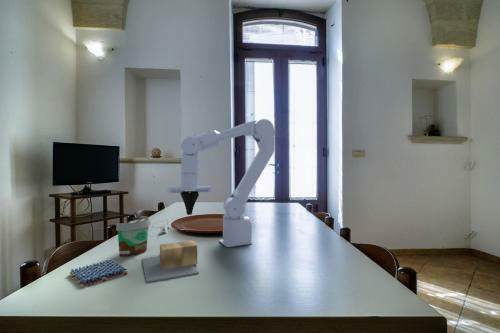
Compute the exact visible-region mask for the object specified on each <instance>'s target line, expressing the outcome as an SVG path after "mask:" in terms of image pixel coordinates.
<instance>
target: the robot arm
mask: <svg viewBox="0 0 500 333" xmlns="http://www.w3.org/2000/svg"><path fill="white" fill-rule="evenodd" d="M240 136H245V137H252V138H253V139H254V141H255V142H256V145H257V148H258V151H257V153H256V155H255V157H254V158H253V160H252V161H251V163H250V164H249V167H248V168H247V170H246V172H245V173H244V175H243V177H242V178H241V180H240V181H239V183H238V185H237V187H236V188H235V189H234V190H233V192H232V193H231V195H229V196H228V197H227V198H225V199H224V201H223V209H224V211H225V213H224V214H223V215H222V217H223V218H222V239H221V238H220V239H219V240H218V241H219V242H220V243H221V244H222V245H223V246H224V247H226V248H231V247H233V248H234V247H238V246H245V245H252V244H253V241H252V229H253V228H252V221H251V218H250V217H249V216H245V215H244V213H245V206H246V204H247V202H248V199H249V195H250V194H251V192H252V190H253V189H254V187H255V185H256V184H257V181H258V180H259V179H260V177H261V176H262V174H263V172H264V170H265V168H266V167H267V166H268V163H269V161H270V159H272V156H273V155H274V153H275V150H276V149H275V148H276V147H275V146H276V144H275V143H276V142H275V140H276V139H275V138H276V137H275V136H276V129H275V127H274V124H273V123H272V121H270V119H268V118H261V119H259V120H252V121H248V122H245V123H241V124H239V125H236V126H233V127H231V128H227V129H225V130H222V131H217V130H215V129H207V130H206V132H203V133H201V134H197V133H196V134H193V136H187V137H185V138H184V139H183V140H182V142H181V144H180V148H181V151H182V152H181V161H180V162H181V166H180V186H167V187H166V193H167V194H180V196H181V198H182V200H183V203H184V206H185V207H184V208H185V212H186V215H188V216H189V215H190V216H193V211H194V208H195V204H196V202H197V200H198V198H199V196H200V194H199V193H212V186H209V185H203V186H202V185H199V175H200V173H199V172H200V171H199V170H200V168H199V166H200V160H199V151H200V152H205V151H207V150H208V151H209V150H211V149H215V148H217V147H220V146H221V143H222V142H224V141H227V140H230V139H234V138H238V137H240Z"/></svg>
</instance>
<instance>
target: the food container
mask: <svg viewBox="0 0 500 333" xmlns="http://www.w3.org/2000/svg"><path fill="white" fill-rule="evenodd" d="M151 225H152V223H151V219H150V217H149V216H146V215H145V216H144V215H140V217H139V219H136V220H135V219H134V220H129V221H127V222H124V223H123V222H122V223H121V222H118V223H117V225H116V226H115V227H116V230H115V231H117V242H118V254H119V257H122V258H123V257H135V256H139V255H141V254H144V253H146V252H147V249H148V248H147V247H148V237H149V236H148V235H149V231H148V230H149V227H150V226H151Z"/></svg>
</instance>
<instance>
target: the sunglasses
mask: <svg viewBox="0 0 500 333" xmlns="http://www.w3.org/2000/svg"><path fill="white" fill-rule="evenodd" d="M161 222H162V221H157V222H154V223H153V224H152V226H151V227H152V229H148V232H149V231H153V230H154V229H155V230H156V229H160V228H163V227H164V232H165V234H168V232H169V230H168V229H171V228H172V226H171V225H172V224H171V218H170V217H167V219H165V220H164V219H163V226H160V227H156V228H153V227H154V225H155V224H156V223H158V224H159V223H161ZM170 227H171V228H170Z"/></svg>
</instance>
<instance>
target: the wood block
mask: <svg viewBox="0 0 500 333" xmlns="http://www.w3.org/2000/svg"><path fill="white" fill-rule="evenodd" d="M159 256H160V265H161V267H162V270H163V269H169V268H175V267H181V266H188V265H194V266H195V265H198V245H197V243H196V242H195V241H194V240H185V241H178V242H170V243H169V242H168V243H161V244H159Z"/></svg>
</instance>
